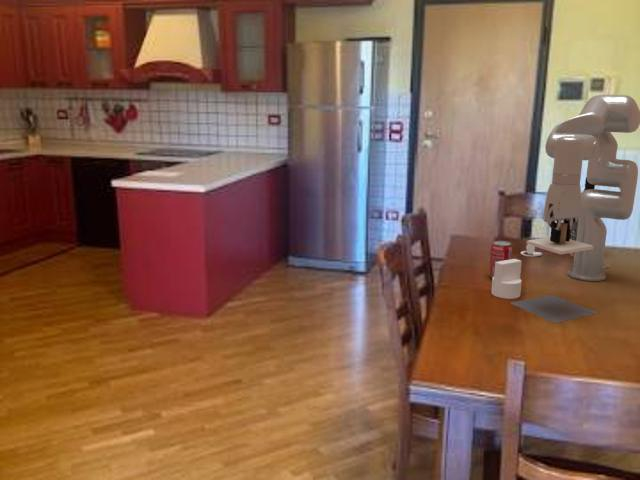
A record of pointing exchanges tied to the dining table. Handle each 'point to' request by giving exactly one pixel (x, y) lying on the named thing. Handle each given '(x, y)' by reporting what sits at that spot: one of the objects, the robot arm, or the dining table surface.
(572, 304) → the mat
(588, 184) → the whiskey bottle
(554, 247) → the lid
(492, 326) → the dining table surface
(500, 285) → the cylinder with rectangular tab
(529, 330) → the dining table surface
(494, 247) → the soda can
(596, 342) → the dining table surface
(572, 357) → the dining table surface
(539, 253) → the teacup and saucer
